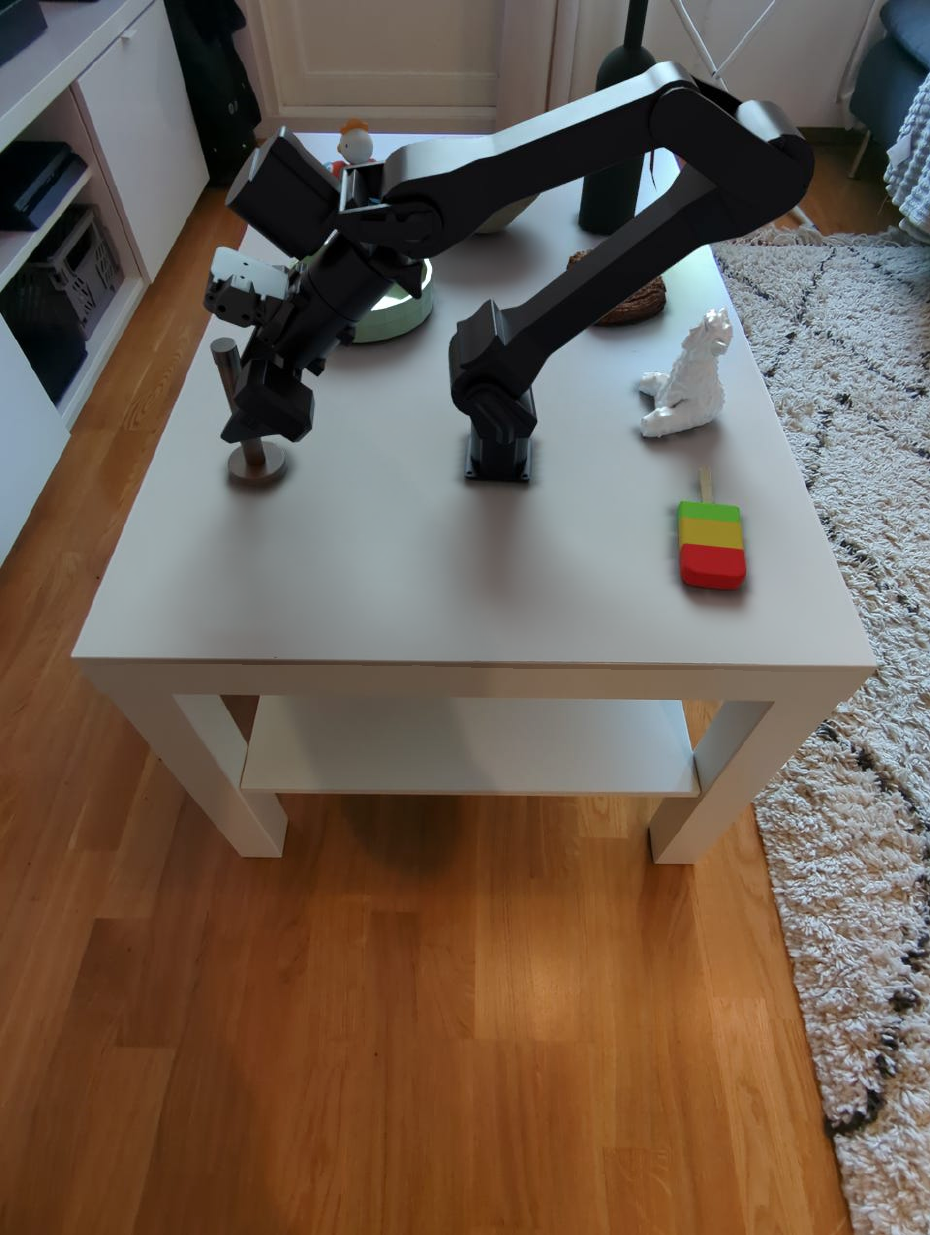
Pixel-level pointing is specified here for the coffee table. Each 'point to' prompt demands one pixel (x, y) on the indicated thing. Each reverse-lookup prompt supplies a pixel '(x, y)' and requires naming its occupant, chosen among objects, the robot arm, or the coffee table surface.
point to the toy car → (353, 147)
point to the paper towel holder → (254, 457)
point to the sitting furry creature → (689, 380)
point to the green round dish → (392, 308)
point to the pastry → (632, 301)
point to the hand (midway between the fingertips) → (232, 406)
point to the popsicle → (710, 541)
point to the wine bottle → (618, 186)
